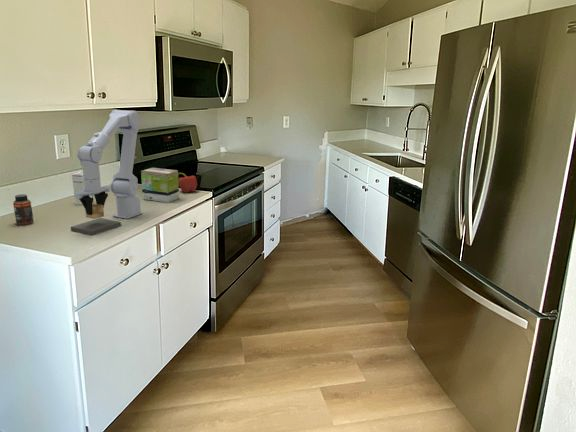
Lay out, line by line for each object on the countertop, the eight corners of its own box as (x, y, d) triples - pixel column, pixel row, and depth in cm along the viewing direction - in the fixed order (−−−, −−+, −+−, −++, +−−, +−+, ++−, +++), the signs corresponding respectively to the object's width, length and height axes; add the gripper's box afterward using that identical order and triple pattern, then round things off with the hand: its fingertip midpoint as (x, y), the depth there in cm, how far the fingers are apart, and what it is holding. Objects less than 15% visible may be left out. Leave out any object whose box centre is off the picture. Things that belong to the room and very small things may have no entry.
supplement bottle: (37, 221, 170) (33, 193, 167) (28, 225, 164) (24, 197, 161) (21, 220, 170) (17, 193, 167) (12, 225, 164) (8, 196, 161)
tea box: (141, 199, 208) (140, 170, 204) (153, 195, 218) (152, 167, 214) (168, 203, 204) (167, 172, 200) (179, 198, 214) (178, 169, 209)
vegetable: (173, 192, 225) (172, 174, 223) (183, 188, 235) (183, 170, 232) (191, 194, 222) (190, 175, 219) (201, 190, 232) (200, 172, 229)
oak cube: (95, 214, 166) (94, 203, 165) (104, 216, 164) (103, 204, 163) (86, 217, 162) (84, 205, 161) (94, 219, 160) (93, 207, 159)
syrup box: (86, 205, 195) (82, 174, 191) (74, 204, 196) (71, 173, 192) (93, 202, 201) (90, 172, 197) (82, 201, 202) (79, 171, 198)
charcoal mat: (100, 221, 173) (100, 217, 172) (120, 225, 168) (120, 222, 168) (71, 230, 161) (70, 226, 160) (92, 235, 156) (91, 231, 156)
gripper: (99, 174, 167) (102, 207, 171) (67, 180, 154) (71, 215, 158) (112, 176, 164) (115, 209, 168) (81, 182, 151) (85, 218, 155)
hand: (95, 213), depth 163 cm, fingers closed on oak cube, 4 cm apart
